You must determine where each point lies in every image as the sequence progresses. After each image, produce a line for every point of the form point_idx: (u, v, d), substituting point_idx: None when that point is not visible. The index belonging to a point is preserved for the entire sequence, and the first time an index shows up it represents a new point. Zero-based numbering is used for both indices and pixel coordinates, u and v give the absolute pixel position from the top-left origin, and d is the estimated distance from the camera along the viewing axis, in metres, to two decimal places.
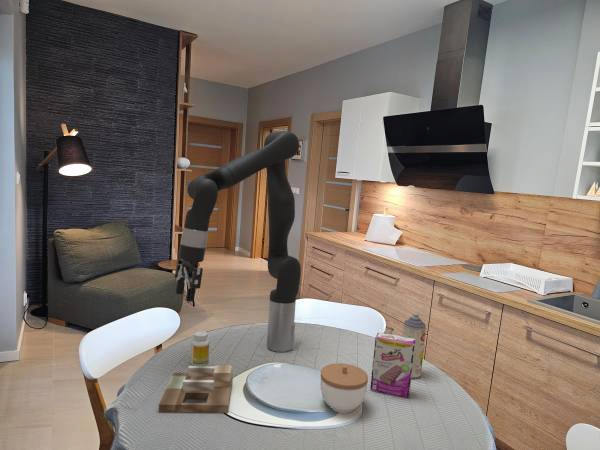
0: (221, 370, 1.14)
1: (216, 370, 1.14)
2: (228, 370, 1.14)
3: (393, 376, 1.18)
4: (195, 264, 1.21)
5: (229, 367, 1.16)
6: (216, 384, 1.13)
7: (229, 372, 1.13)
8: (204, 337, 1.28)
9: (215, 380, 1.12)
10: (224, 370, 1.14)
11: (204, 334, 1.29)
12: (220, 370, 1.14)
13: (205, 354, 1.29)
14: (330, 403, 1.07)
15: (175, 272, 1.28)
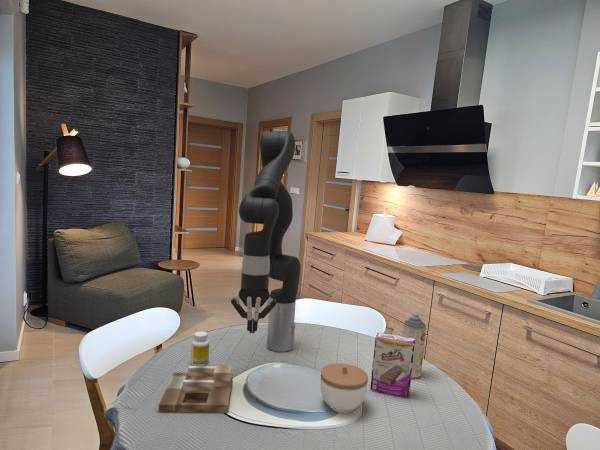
0: (221, 370, 1.14)
1: (216, 370, 1.14)
2: (228, 370, 1.14)
3: (393, 376, 1.18)
4: None
5: (229, 367, 1.16)
6: (216, 384, 1.13)
7: (229, 372, 1.13)
8: (204, 337, 1.28)
9: (215, 380, 1.12)
10: (224, 370, 1.14)
11: (204, 334, 1.29)
12: (220, 370, 1.14)
13: (205, 354, 1.29)
14: (330, 403, 1.07)
15: None
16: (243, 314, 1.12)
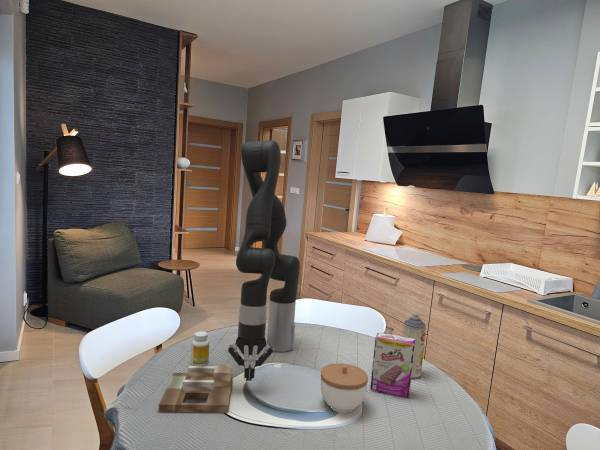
0: (221, 370, 1.14)
1: (216, 370, 1.14)
2: (228, 370, 1.14)
3: (393, 376, 1.18)
4: (264, 338, 1.15)
5: (229, 367, 1.16)
6: (216, 384, 1.13)
7: (229, 372, 1.13)
8: (204, 337, 1.28)
9: (215, 380, 1.12)
10: (224, 370, 1.14)
11: (204, 334, 1.29)
12: (220, 370, 1.14)
13: (205, 354, 1.29)
14: (330, 403, 1.07)
15: None
16: (240, 362, 1.14)
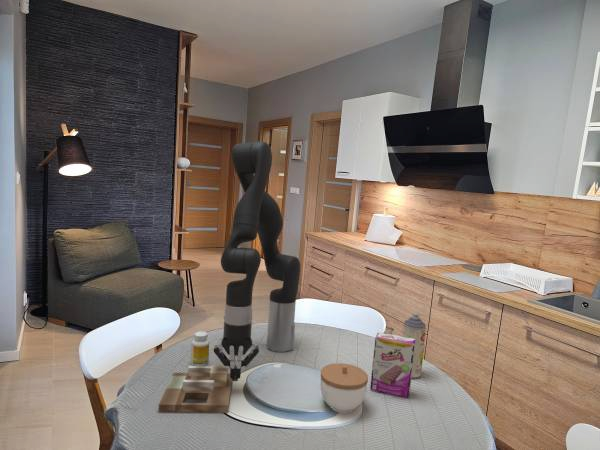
0: (217, 370, 1.14)
1: (212, 370, 1.13)
2: (224, 370, 1.14)
3: (393, 376, 1.18)
4: (250, 338, 1.14)
5: (225, 367, 1.16)
6: None
7: (225, 372, 1.13)
8: (204, 337, 1.28)
9: None
10: (220, 370, 1.13)
11: (204, 334, 1.29)
12: (216, 370, 1.13)
13: (205, 354, 1.29)
14: (330, 403, 1.07)
15: (222, 362, 1.13)
16: (226, 362, 1.13)
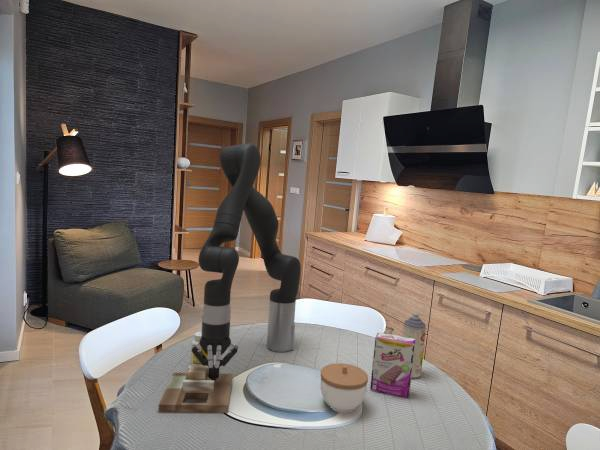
0: (196, 369, 1.13)
1: (190, 369, 1.13)
2: (203, 369, 1.13)
3: (393, 376, 1.18)
4: (229, 337, 1.14)
5: (204, 366, 1.15)
6: None
7: (203, 372, 1.12)
8: None
9: None
10: (198, 370, 1.13)
11: None
12: (195, 370, 1.13)
13: (205, 354, 1.29)
14: (330, 403, 1.07)
15: (200, 362, 1.12)
16: (204, 362, 1.12)
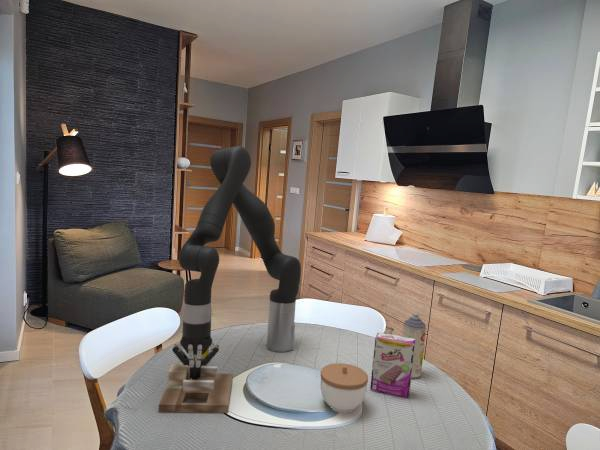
0: (177, 369, 1.13)
1: (172, 369, 1.12)
2: (184, 369, 1.13)
3: (393, 376, 1.18)
4: (210, 337, 1.13)
5: (186, 366, 1.15)
6: (171, 383, 1.11)
7: (184, 371, 1.12)
8: None
9: (170, 379, 1.11)
10: (179, 369, 1.12)
11: None
12: (176, 369, 1.12)
13: (205, 354, 1.29)
14: (330, 403, 1.07)
15: (181, 361, 1.12)
16: (185, 361, 1.12)
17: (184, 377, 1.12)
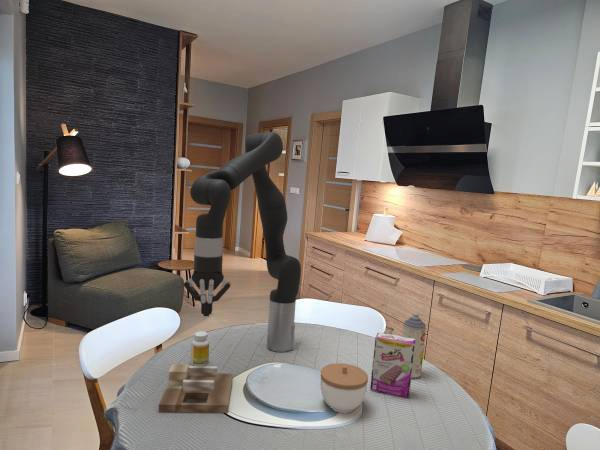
0: (177, 369, 1.13)
1: (172, 369, 1.12)
2: (184, 369, 1.13)
3: (393, 376, 1.18)
4: None
5: (186, 366, 1.15)
6: (171, 383, 1.11)
7: (184, 371, 1.12)
8: (204, 337, 1.28)
9: (170, 379, 1.11)
10: (179, 369, 1.12)
11: (204, 334, 1.29)
12: (176, 369, 1.12)
13: (205, 354, 1.29)
14: (330, 403, 1.07)
15: None
16: (196, 297, 1.11)
17: (184, 377, 1.12)
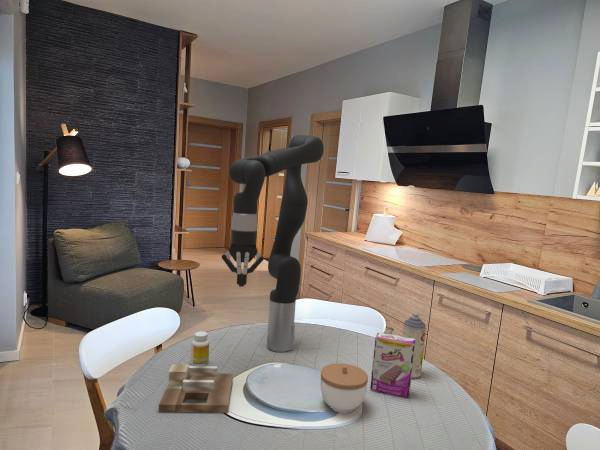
0: (177, 369, 1.13)
1: (172, 369, 1.12)
2: (184, 369, 1.13)
3: (393, 376, 1.18)
4: (256, 247, 1.22)
5: (186, 366, 1.15)
6: (171, 383, 1.11)
7: (184, 371, 1.12)
8: (204, 337, 1.28)
9: (170, 379, 1.11)
10: (179, 369, 1.12)
11: (204, 334, 1.29)
12: (176, 369, 1.12)
13: (205, 354, 1.29)
14: (330, 403, 1.07)
15: (229, 268, 1.21)
16: (233, 268, 1.21)
17: (184, 377, 1.12)
